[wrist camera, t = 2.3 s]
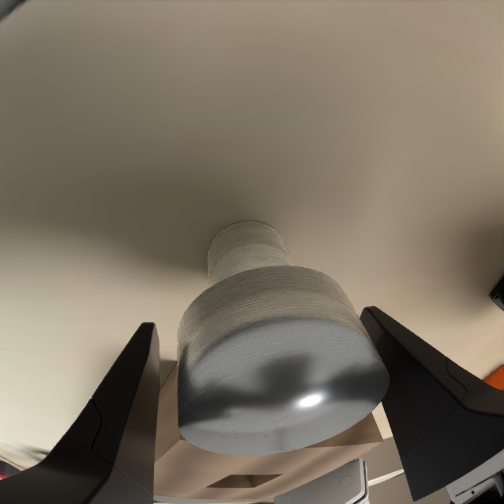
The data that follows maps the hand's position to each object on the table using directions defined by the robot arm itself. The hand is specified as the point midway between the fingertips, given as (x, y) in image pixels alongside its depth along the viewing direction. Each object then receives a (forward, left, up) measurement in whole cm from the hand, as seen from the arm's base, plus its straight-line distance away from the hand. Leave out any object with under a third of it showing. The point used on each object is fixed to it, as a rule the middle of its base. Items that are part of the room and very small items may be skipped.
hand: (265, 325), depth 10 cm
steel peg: (0, 0, -4) cm, 4 cm away
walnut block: (-8, +16, -4) cm, 18 cm away
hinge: (-33, +34, -4) cm, 47 cm away
